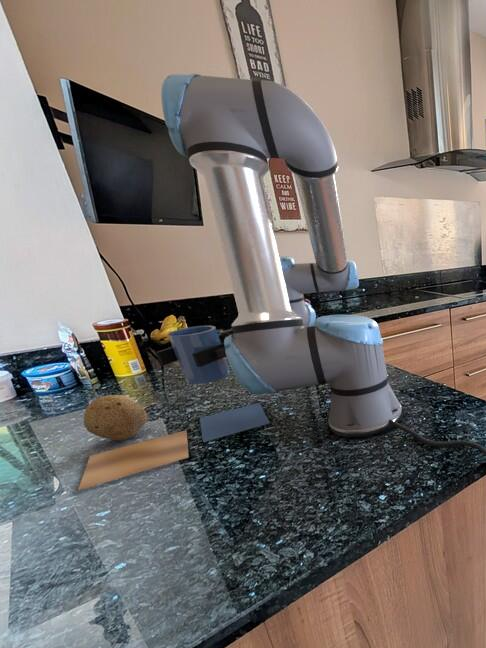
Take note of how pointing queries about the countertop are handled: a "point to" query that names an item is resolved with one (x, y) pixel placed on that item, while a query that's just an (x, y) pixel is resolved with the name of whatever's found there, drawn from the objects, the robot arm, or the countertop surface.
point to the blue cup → (193, 342)
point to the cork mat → (134, 459)
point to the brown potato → (114, 417)
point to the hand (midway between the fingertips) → (177, 359)
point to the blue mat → (232, 422)
